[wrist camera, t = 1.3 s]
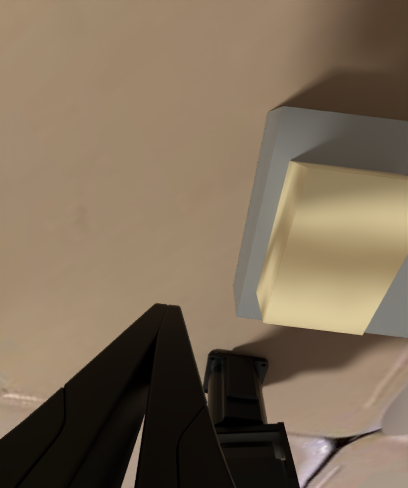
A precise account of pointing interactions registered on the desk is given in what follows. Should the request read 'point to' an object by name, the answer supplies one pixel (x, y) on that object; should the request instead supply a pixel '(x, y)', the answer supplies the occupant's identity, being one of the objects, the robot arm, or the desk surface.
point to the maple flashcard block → (333, 247)
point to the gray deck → (326, 153)
